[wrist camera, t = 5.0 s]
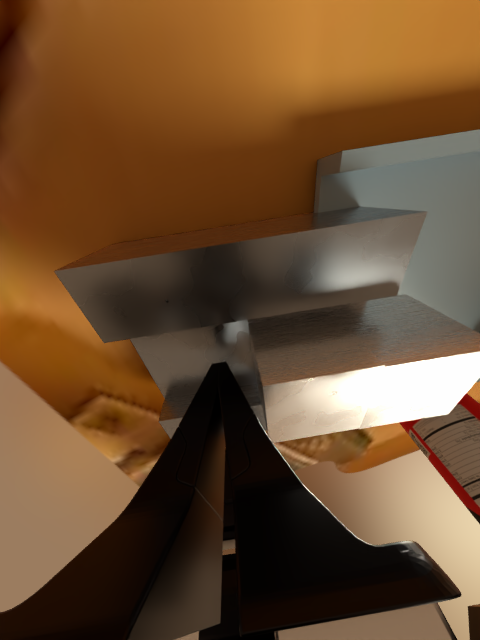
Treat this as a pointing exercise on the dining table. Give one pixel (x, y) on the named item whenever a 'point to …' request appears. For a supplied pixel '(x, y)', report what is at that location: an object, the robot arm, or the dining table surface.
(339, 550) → the robot arm
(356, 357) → the grey cubic piece
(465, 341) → the brushed metal cube
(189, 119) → the dining table surface
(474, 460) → the beverage can
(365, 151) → the tray
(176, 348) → the slot plate
